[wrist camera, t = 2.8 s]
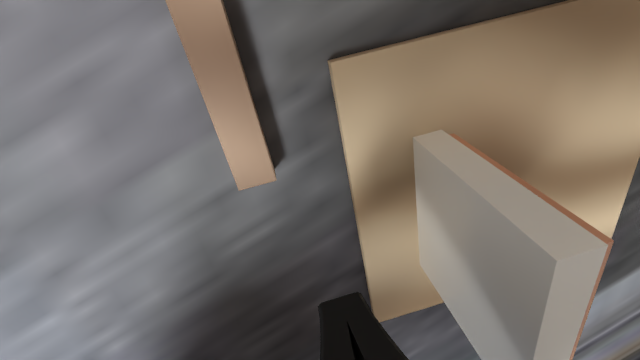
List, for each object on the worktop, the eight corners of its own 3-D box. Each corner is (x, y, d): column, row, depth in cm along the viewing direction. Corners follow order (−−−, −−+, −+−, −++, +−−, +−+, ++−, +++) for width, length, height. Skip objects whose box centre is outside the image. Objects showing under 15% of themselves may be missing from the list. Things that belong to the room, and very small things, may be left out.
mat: (600, 247, 20) (606, 251, 19) (373, 317, 19) (375, 323, 18) (691, -31, 12) (704, -32, 12) (327, 60, 11) (330, 62, 11)
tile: (449, 255, 17) (564, 401, 11) (419, 264, 17) (519, 417, 11) (451, 126, 13) (625, 239, 7) (412, 137, 13) (556, 261, 7)
